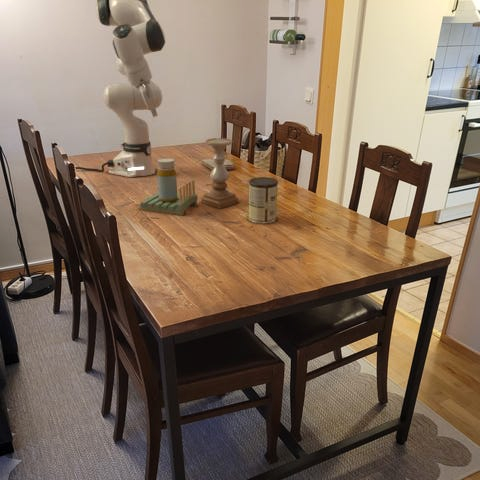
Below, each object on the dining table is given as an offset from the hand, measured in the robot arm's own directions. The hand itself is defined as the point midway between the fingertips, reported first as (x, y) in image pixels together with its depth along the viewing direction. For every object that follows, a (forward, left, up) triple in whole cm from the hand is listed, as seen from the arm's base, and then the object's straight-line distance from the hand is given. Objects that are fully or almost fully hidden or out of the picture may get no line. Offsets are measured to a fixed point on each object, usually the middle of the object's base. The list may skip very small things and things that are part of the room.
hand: (152, 110), depth 187 cm
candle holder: (+29, -2, -33) cm, 44 cm away
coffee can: (+51, -14, -33) cm, 62 cm away
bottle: (+13, -15, -30) cm, 36 cm away
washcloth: (+6, +51, -33) cm, 61 cm away
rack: (+13, -15, -32) cm, 38 cm away
